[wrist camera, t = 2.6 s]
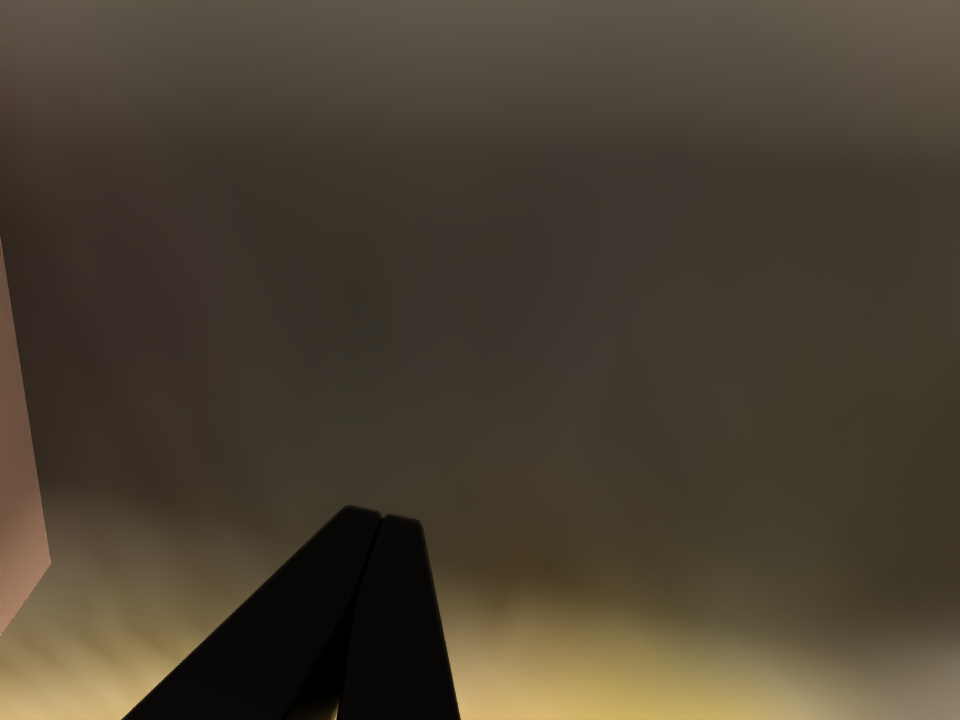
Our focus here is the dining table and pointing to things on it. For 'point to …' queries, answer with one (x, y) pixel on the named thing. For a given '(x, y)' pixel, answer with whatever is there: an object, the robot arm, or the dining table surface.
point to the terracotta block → (17, 478)
